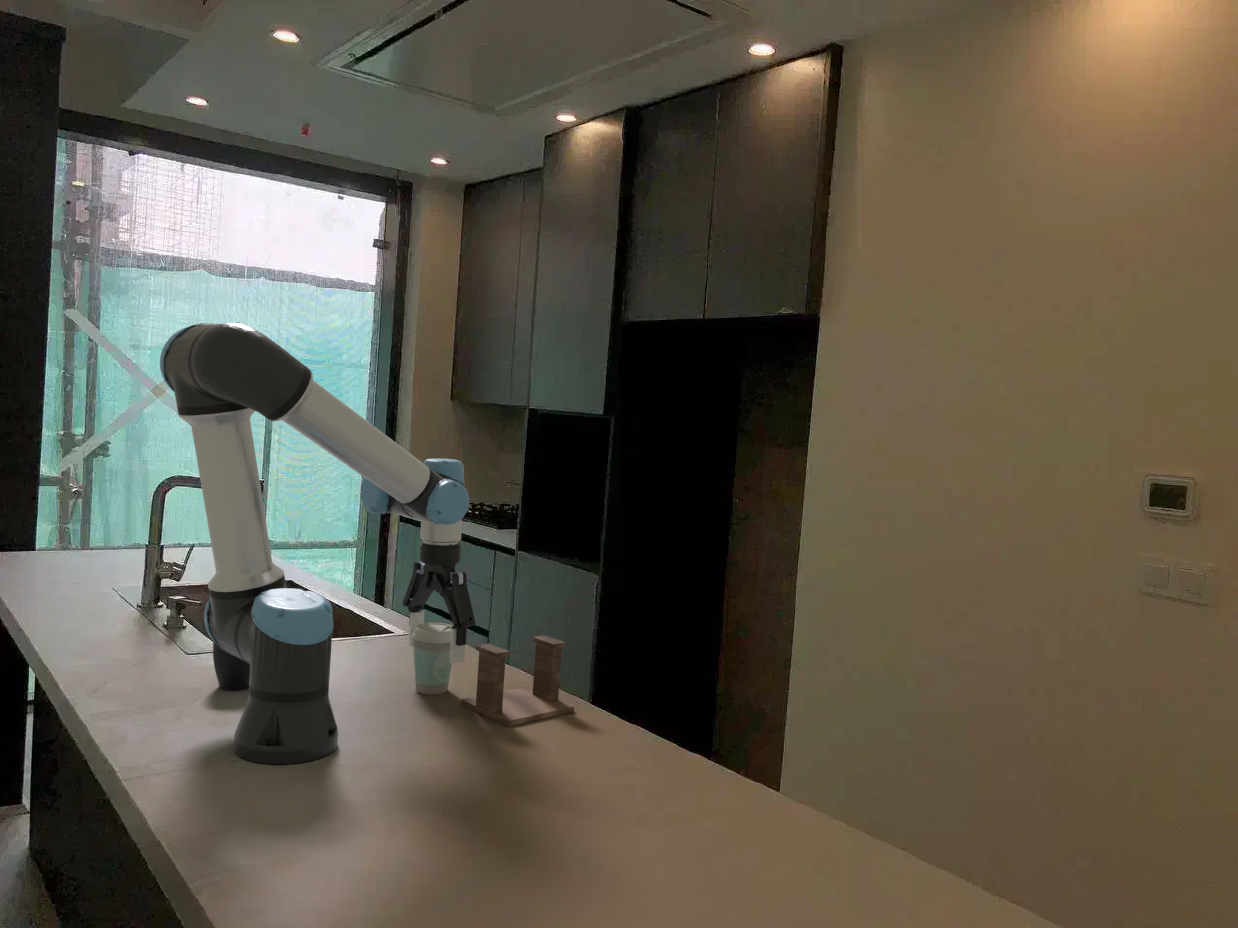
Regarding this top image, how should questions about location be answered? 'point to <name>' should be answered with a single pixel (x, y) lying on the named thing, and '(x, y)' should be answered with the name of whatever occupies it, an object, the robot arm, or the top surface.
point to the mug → (230, 670)
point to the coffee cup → (432, 657)
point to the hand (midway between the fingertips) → (435, 653)
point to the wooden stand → (519, 701)
